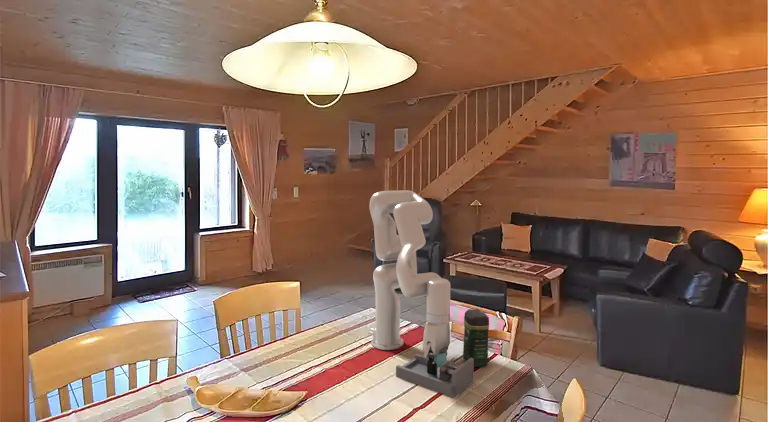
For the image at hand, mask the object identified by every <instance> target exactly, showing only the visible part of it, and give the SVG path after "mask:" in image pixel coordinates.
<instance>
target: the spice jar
mask: <svg viewBox="0 0 768 422" xmlns="http://www.w3.org/2000/svg"><path fill="white" fill-rule="evenodd" d="M446 351H447V352H448V350H447V346H445V347H444V348H442V349H441V350H440V351H439V354H437V357H436V363H437V367H438V366H440V365H441V364H443V363H444V362H445V361H447V356H446ZM430 352H431V353H433V352H432V351H430ZM430 357H432V359H433V355H431V356H430ZM428 376H431V377H434V378H437V373H436V375H435V376H434V375H431V374H428Z"/></svg>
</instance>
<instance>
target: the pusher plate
mask: <svg viewBox="0 0 768 422" xmlns="http://www.w3.org/2000/svg"><path fill="white" fill-rule="evenodd" d="M454 363H455V357H453V356H451V357H450V358H448V359H446V361H445V362H444V363H443V364H441V365H440V366H438V367H437V379H439V380H442V381H446V380H447V379H448V378H450V377H451V376H452V371H454V366H455V364H454Z"/></svg>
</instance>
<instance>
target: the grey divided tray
mask: <svg viewBox="0 0 768 422" xmlns="http://www.w3.org/2000/svg"><path fill="white" fill-rule="evenodd" d="M474 371H475V370H474V359H473V358H469V359H468V360H467V361H465V360H464V362H463V363H462V364H460V365H459V366H456V365H454V371H452V376H451V377H450V378H448V379H447V380H446V381H442V380H439V379H437V378H434V377H431V376H428V373H427V362H426V359H425V358H424V357H423V355H422V354H419V353H415V354H414V358H413V359H411V360H410V361H408V362H406V363H404V364H403V365H399V364H396V366H395V377H397V378H399V379H402V380H405V381H408V382H410V383H413V384H415V385H418V386H421V387H424V388H426V389H428V390H432V391H435V392H437V393H439V394H442V395H444V396H445V395H446V396H447V397H449V398H452V399H453V398H454V399H456V398H457V397H458V396H459V395H460V394H461V393H463V391H465V390H466V389H467V388H469V387H470V386H471V385H472V384H473V383H474Z"/></svg>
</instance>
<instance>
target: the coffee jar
mask: <svg viewBox="0 0 768 422" xmlns="http://www.w3.org/2000/svg"><path fill="white" fill-rule="evenodd" d="M463 325H464V326H463V327H464V329H463V331H464V332H463V349H462V352H463V353H462V358H463V361H464V362H465V361H467V360H468V359H469V358H473V359H474V367H475V368H483V367H485V366H487V365H488V362H489V361H488V359H489V355H488V354H489V328H490V317H489V316H488V314H486V313H485V312H483V311H482V310H480V309H476V308H475V309H474V308H471V309H469V308H468V309H467V310H466V311H465V312H464V316H463Z"/></svg>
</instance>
